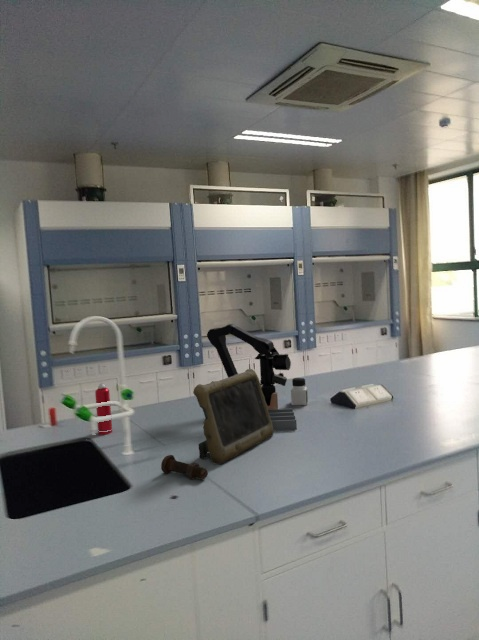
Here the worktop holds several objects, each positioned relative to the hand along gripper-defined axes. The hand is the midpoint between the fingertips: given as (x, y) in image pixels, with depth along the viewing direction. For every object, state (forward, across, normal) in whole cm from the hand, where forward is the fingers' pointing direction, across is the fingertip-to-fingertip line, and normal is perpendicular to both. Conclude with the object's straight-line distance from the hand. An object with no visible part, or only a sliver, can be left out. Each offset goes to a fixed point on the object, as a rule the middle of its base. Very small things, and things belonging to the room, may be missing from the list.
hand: (268, 404), depth 196 cm
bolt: (+4, -63, +27) cm, 68 cm away
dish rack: (+4, -15, -3) cm, 16 cm away
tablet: (+4, -40, +12) cm, 42 cm away
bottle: (+4, -17, +67) cm, 69 cm away
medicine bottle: (+4, +15, -15) cm, 22 cm away
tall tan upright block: (+3, 0, 0) cm, 3 cm away
